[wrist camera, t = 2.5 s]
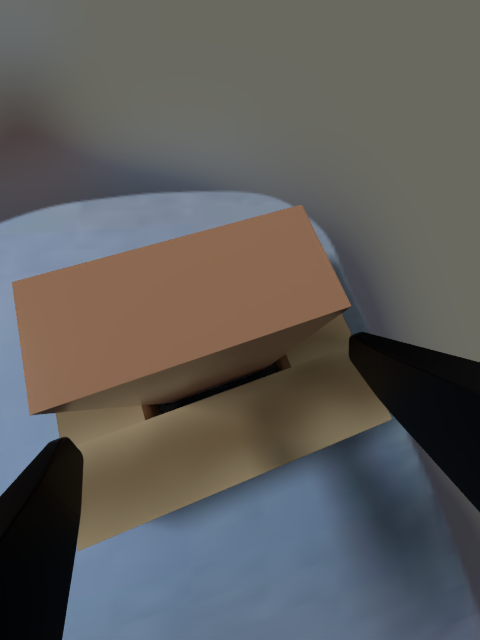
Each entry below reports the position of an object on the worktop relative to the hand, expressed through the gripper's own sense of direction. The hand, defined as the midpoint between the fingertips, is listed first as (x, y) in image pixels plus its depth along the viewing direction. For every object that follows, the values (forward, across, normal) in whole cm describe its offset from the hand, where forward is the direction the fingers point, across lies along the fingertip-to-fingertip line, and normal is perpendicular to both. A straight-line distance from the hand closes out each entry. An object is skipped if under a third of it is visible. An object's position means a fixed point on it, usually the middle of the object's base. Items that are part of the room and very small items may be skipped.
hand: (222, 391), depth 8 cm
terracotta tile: (+8, 0, +5) cm, 9 cm away
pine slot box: (+8, 0, +5) cm, 9 cm away
